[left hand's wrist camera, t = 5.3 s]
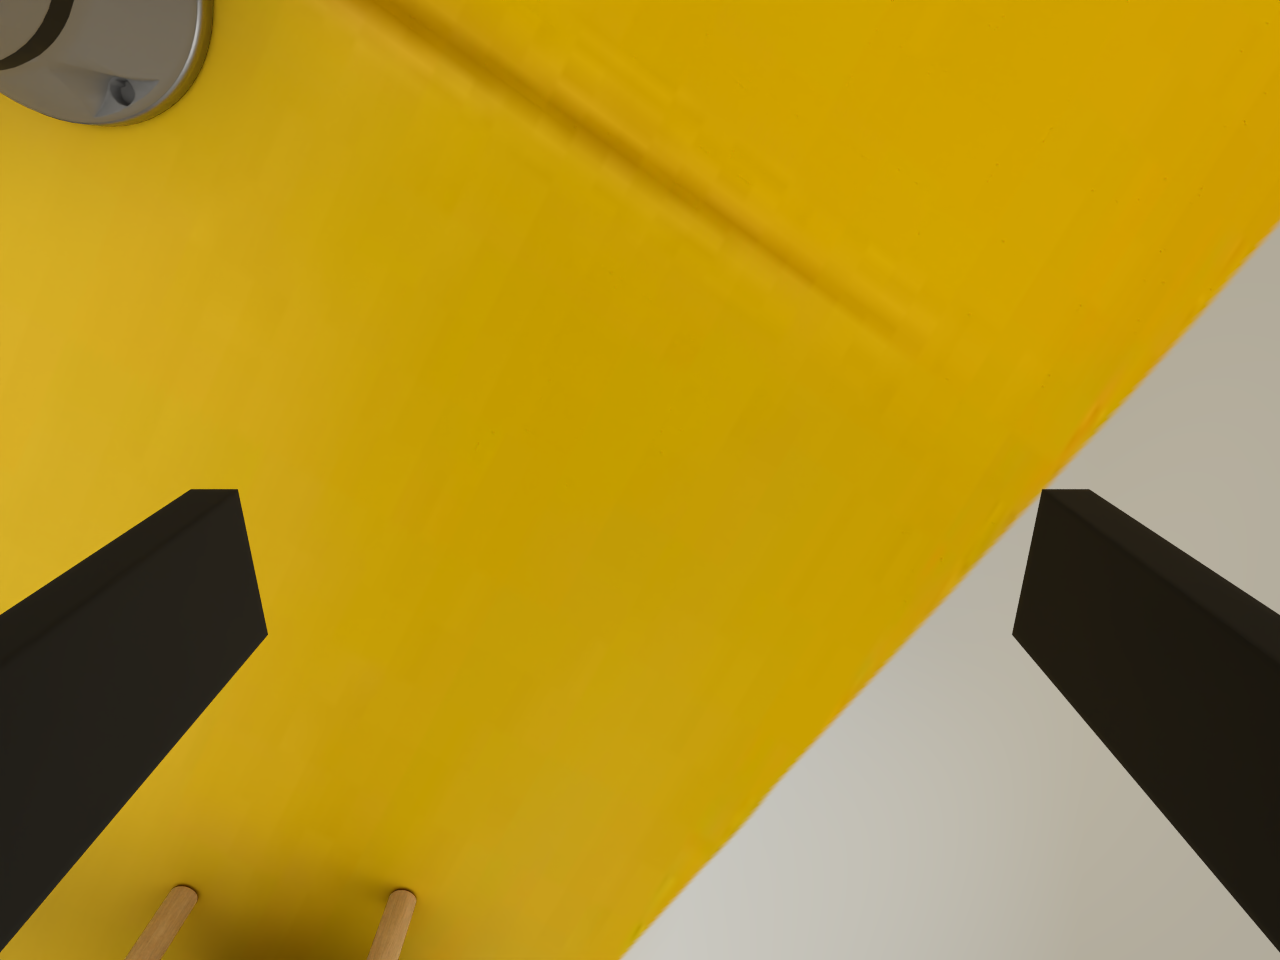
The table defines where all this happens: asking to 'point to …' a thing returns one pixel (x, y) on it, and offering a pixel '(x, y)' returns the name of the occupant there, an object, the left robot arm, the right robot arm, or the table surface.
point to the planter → (183, 899)
